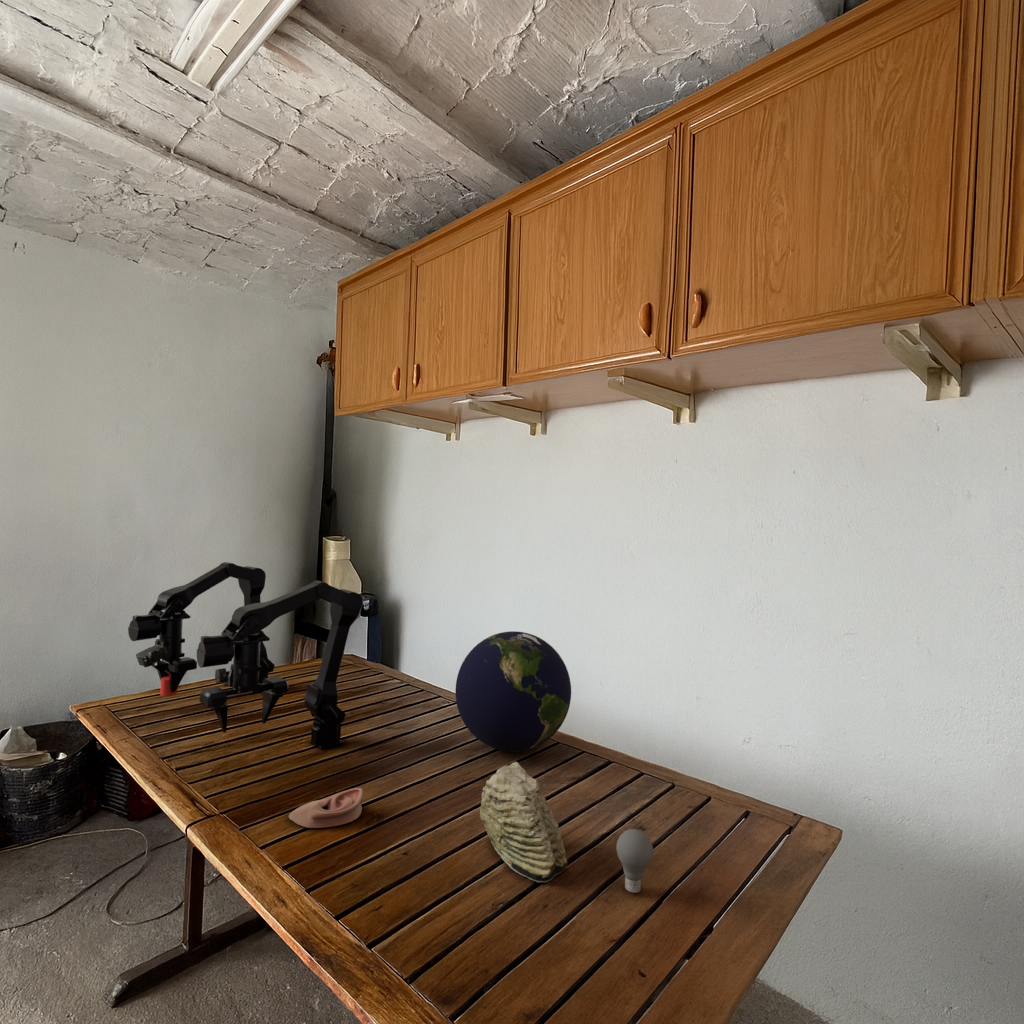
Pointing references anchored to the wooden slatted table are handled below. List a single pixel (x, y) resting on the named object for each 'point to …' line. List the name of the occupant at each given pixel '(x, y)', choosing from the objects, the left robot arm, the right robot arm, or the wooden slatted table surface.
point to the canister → (166, 687)
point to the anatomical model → (330, 810)
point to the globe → (513, 691)
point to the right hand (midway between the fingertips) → (244, 727)
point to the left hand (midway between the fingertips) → (169, 690)
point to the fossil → (522, 824)
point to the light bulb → (634, 857)
